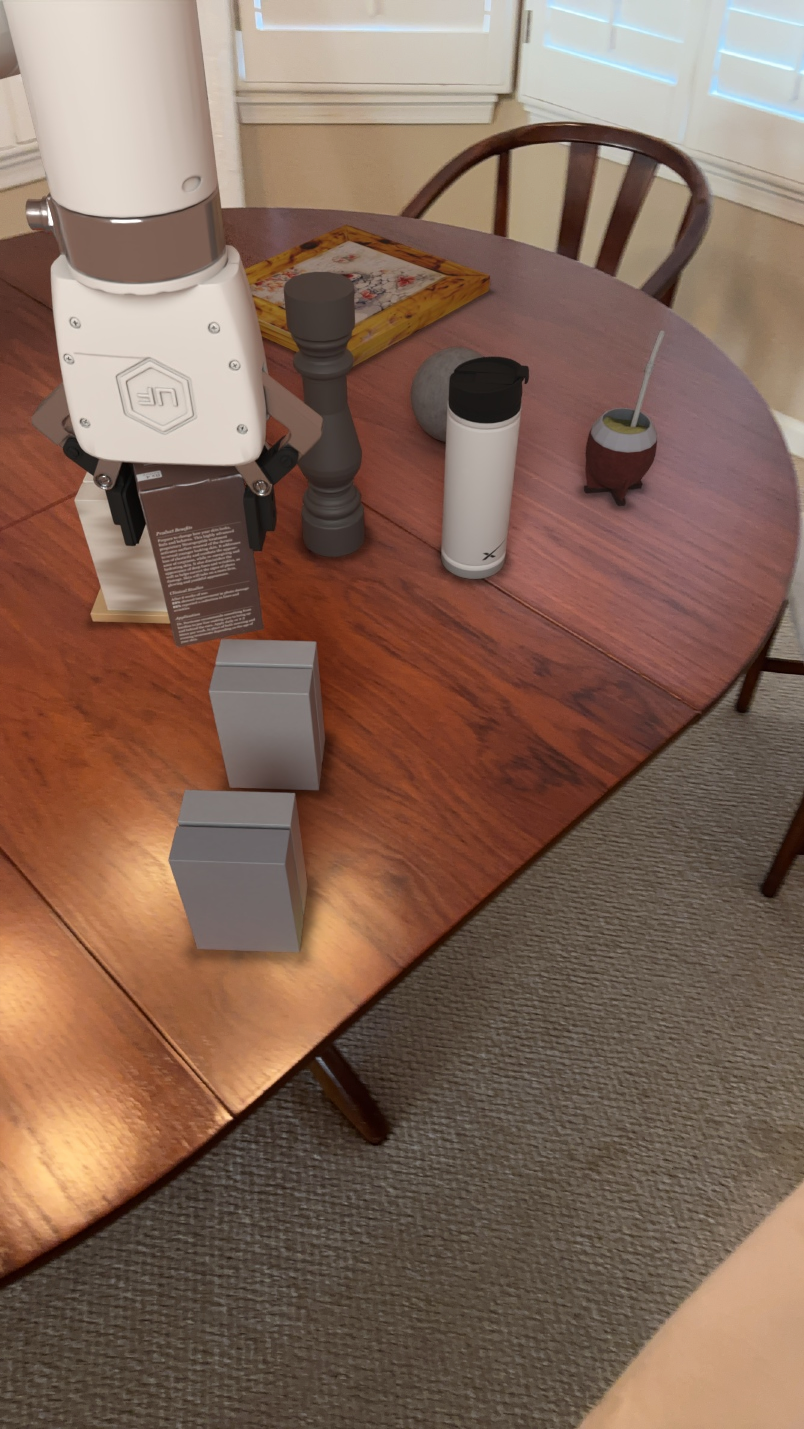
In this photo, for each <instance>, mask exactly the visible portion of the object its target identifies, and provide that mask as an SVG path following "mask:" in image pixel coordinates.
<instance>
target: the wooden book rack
mask: <svg viewBox="0 0 804 1429" xmlns="http://www.w3.org/2000/svg"><path fill="white" fill-rule="evenodd" d="M73 501H74V505H75V507H76V510H77V513H78V518H79V520H80V524H81V526H82V530H83V533H84V534H83V535H84V537H85V540H86V543H87V546H88V549H89V553H90V556H91V559H92V563H93V566H94V569H95V573H96V576H97V579H98V582H99V585H100V588H99V590H98V593H97V595H96V598H95V601H94V603H93V605H92V608H91V610H90V617H91V620H92V622H94V623H97V622H98V623H99V622H100V623H135V624H138V623H139V624H140V623H141V624H170V620H169V616H168V612H167V608H166V603H165V599H164V595H163V590H162V586H161V582H160V578H159V574H158V570H157V566H156V562H155V558H154V554H153V550H152V546H151V542H150V538H149V534H148V530H147V526H145V528H144V531H143V534H142V536H141V539H140V542H139V544H136V546H126V545H125V542H124V538H123V534H122V530H121V526H120V525H115V524H114V522H113V519H112V515H111V511H110V507H109V504H108V500H107V496H106V492H105V490H104V489H101V488H99V487H98V486H96V485H95V483H94V481H93V476H92V475H91V474H90V473H88V472H87V471H86V473H85V475H84V477H83V480H82V483H81V485H80V486H79V488H78V491H77V493H76V494H75V498H74V500H73ZM170 625H171V624H170Z"/></svg>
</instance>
